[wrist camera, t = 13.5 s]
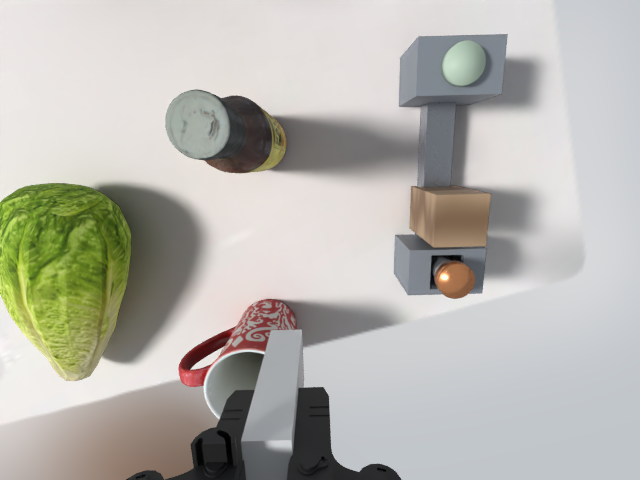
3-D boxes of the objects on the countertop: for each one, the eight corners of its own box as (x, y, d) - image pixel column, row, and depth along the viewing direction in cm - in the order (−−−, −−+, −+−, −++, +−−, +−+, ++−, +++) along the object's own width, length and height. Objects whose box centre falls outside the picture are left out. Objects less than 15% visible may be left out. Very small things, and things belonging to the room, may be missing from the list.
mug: (305, 293, 44) (300, 351, 31) (303, 355, 46) (297, 434, 33) (207, 288, 44) (160, 345, 31) (209, 351, 46) (166, 429, 33)
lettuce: (-4, 374, 41) (33, 439, 35) (-31, 173, 34) (9, 205, 27) (104, 337, 51) (150, 382, 44) (101, 174, 43) (155, 198, 37)
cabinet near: (400, 57, 37) (421, 32, 30) (473, 56, 37) (513, 30, 30) (398, 106, 39) (419, 94, 31) (469, 104, 39) (507, 92, 31)
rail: (420, 105, 39) (427, 102, 36) (447, 105, 39) (456, 101, 36) (415, 234, 42) (421, 239, 40) (439, 233, 42) (446, 238, 40)
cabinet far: (395, 235, 42) (409, 250, 36) (459, 233, 42) (486, 248, 36) (393, 273, 44) (407, 295, 37) (456, 271, 44) (482, 293, 37)
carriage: (411, 186, 40) (436, 195, 31) (454, 185, 40) (490, 193, 31) (409, 228, 41) (433, 247, 33) (451, 227, 41) (485, 246, 33)
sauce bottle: (299, 143, 40) (280, 132, 20) (262, 181, 41) (212, 205, 21) (257, 100, 38) (195, 46, 19) (220, 141, 40) (128, 128, 20)
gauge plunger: (418, 245, 40) (439, 264, 33) (449, 244, 40) (476, 263, 33) (417, 274, 41) (437, 299, 34) (447, 273, 41) (473, 298, 34)
